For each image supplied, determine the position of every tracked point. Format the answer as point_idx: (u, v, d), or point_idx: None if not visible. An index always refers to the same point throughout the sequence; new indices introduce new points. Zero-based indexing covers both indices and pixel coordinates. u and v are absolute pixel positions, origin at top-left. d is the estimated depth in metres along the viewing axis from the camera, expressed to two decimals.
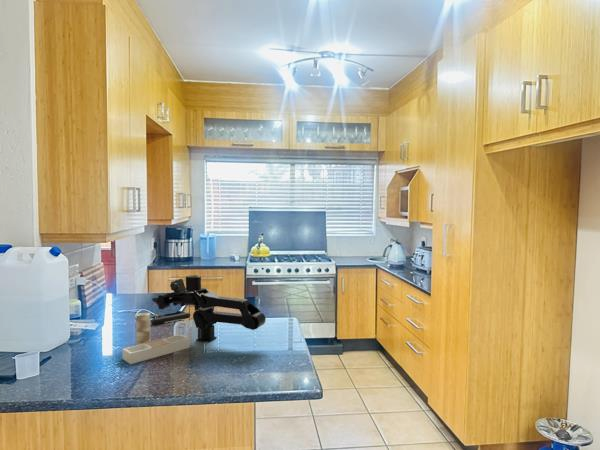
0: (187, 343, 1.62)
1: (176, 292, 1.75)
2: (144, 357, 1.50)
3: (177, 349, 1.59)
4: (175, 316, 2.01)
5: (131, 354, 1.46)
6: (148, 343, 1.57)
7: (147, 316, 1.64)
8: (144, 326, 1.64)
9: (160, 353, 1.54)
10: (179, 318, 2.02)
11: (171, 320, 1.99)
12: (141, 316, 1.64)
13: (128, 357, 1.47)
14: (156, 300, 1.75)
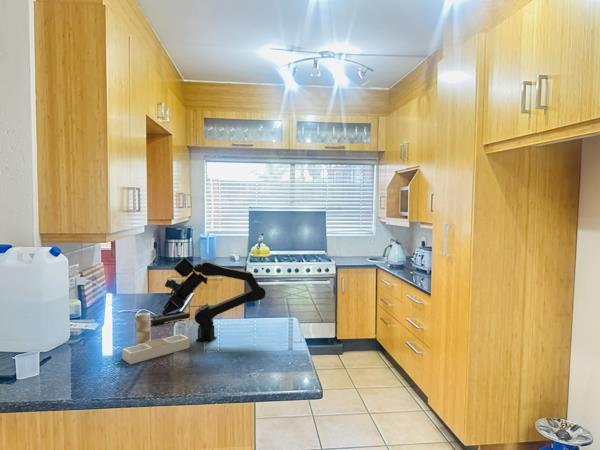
0: (187, 343, 1.62)
1: (178, 287, 1.66)
2: (144, 357, 1.50)
3: (177, 349, 1.59)
4: (175, 316, 2.01)
5: (131, 354, 1.46)
6: (148, 343, 1.57)
7: (147, 316, 1.64)
8: (144, 326, 1.64)
9: (160, 353, 1.54)
10: (179, 318, 2.02)
11: (171, 320, 1.99)
12: (141, 316, 1.64)
13: (128, 357, 1.47)
14: (168, 309, 1.63)
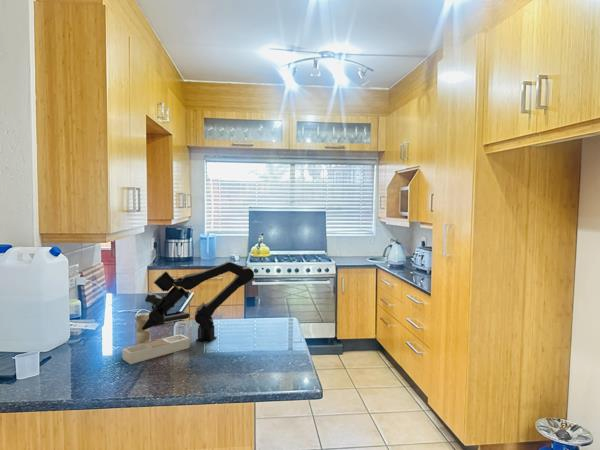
0: (187, 343, 1.62)
1: (158, 301, 1.65)
2: (144, 357, 1.50)
3: (177, 349, 1.59)
4: (175, 316, 2.01)
5: (131, 354, 1.46)
6: (148, 343, 1.57)
7: (147, 316, 1.64)
8: None
9: (160, 353, 1.54)
10: (179, 318, 2.02)
11: (171, 320, 1.99)
12: (141, 316, 1.64)
13: (128, 357, 1.47)
14: (148, 324, 1.61)
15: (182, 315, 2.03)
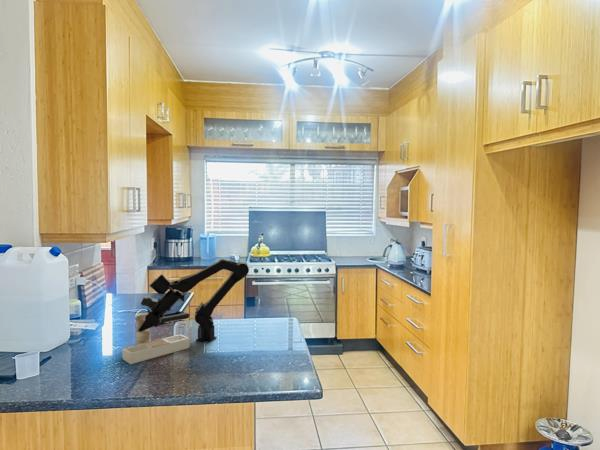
0: (187, 343, 1.62)
1: (154, 305, 1.64)
2: (144, 357, 1.50)
3: (177, 349, 1.59)
4: (174, 316, 2.00)
5: (131, 354, 1.46)
6: (148, 343, 1.57)
7: None
8: None
9: (160, 353, 1.54)
10: (178, 318, 2.02)
11: (170, 320, 1.99)
12: (141, 316, 1.64)
13: (128, 357, 1.47)
14: (144, 326, 1.63)
15: (182, 315, 2.03)
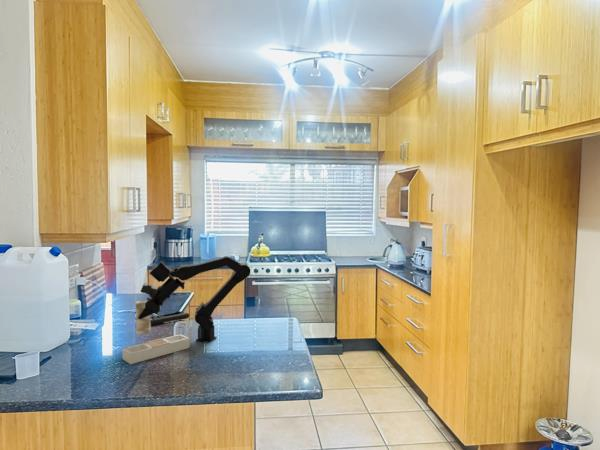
0: (187, 343, 1.62)
1: (154, 292, 1.64)
2: (144, 357, 1.50)
3: (177, 349, 1.59)
4: (174, 316, 2.00)
5: (131, 354, 1.46)
6: (148, 343, 1.57)
7: None
8: None
9: (160, 353, 1.54)
10: (178, 318, 2.01)
11: (170, 320, 1.99)
12: (141, 304, 1.63)
13: (128, 357, 1.47)
14: (144, 313, 1.63)
15: (182, 315, 2.03)
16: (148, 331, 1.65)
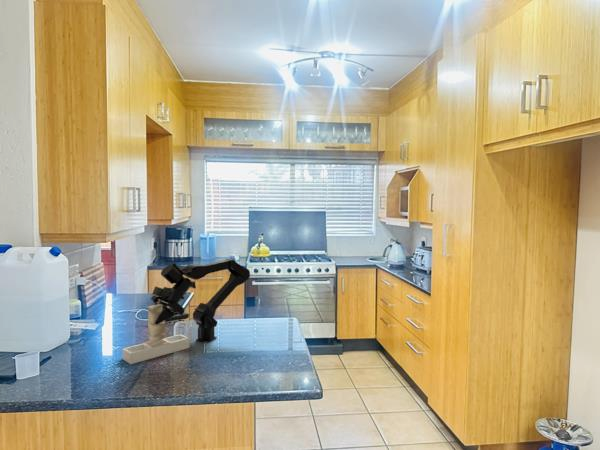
0: (187, 343, 1.62)
1: (170, 294, 1.58)
2: (144, 357, 1.50)
3: (177, 349, 1.59)
4: (174, 316, 2.00)
5: (131, 354, 1.46)
6: (148, 343, 1.57)
7: None
8: None
9: (160, 353, 1.54)
10: (178, 318, 2.01)
11: (170, 320, 1.99)
12: (157, 308, 1.54)
13: (128, 357, 1.47)
14: (162, 317, 1.55)
15: None
16: (164, 336, 1.57)
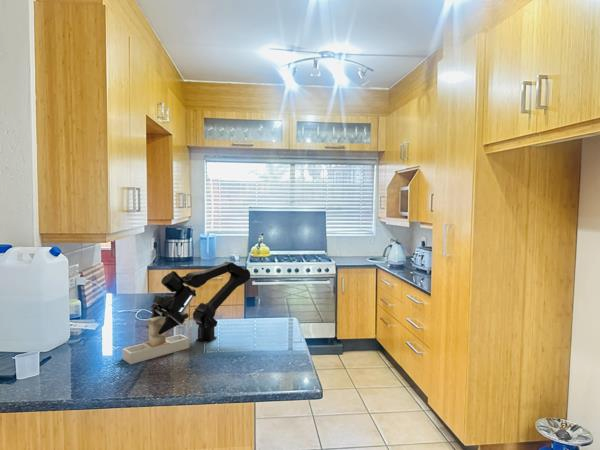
0: (187, 343, 1.62)
1: (171, 303, 1.58)
2: (144, 357, 1.50)
3: (177, 349, 1.59)
4: None
5: (131, 354, 1.46)
6: (148, 343, 1.57)
7: (163, 319, 1.56)
8: None
9: (160, 353, 1.54)
10: None
11: None
12: (157, 320, 1.55)
13: (128, 357, 1.47)
14: (166, 327, 1.53)
15: None
16: None
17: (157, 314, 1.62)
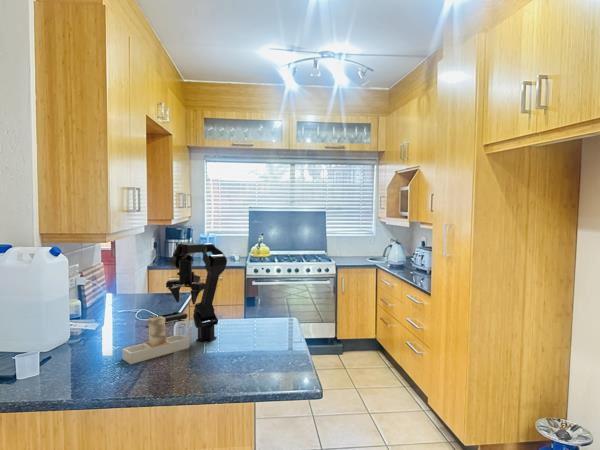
0: (187, 343, 1.62)
1: None
2: (144, 357, 1.50)
3: (177, 349, 1.59)
4: (172, 317, 1.99)
5: (131, 354, 1.46)
6: (148, 343, 1.57)
7: (163, 319, 1.56)
8: (160, 330, 1.56)
9: (160, 353, 1.54)
10: (176, 319, 2.01)
11: (168, 321, 1.98)
12: (157, 320, 1.55)
13: (128, 357, 1.47)
14: None
15: (180, 315, 2.02)
16: None
17: None
